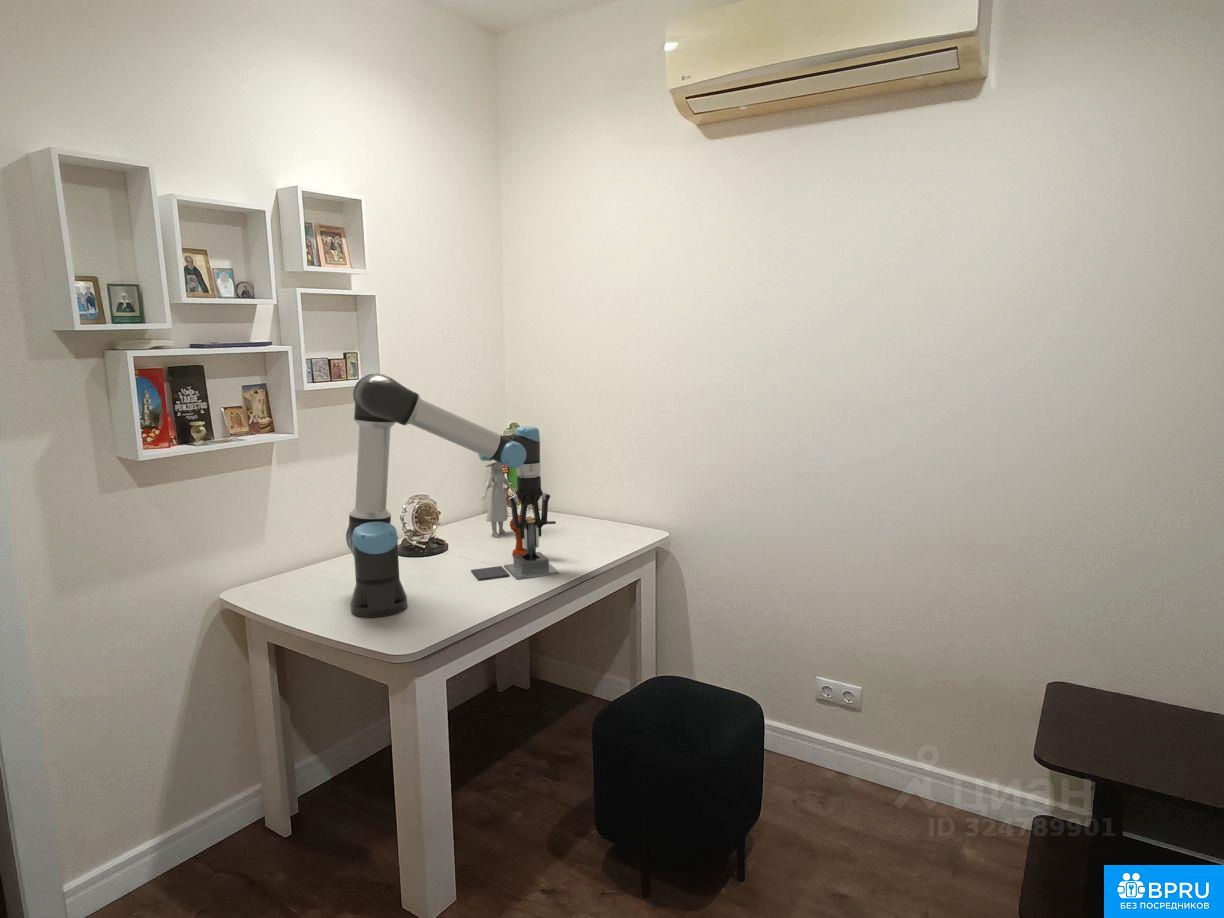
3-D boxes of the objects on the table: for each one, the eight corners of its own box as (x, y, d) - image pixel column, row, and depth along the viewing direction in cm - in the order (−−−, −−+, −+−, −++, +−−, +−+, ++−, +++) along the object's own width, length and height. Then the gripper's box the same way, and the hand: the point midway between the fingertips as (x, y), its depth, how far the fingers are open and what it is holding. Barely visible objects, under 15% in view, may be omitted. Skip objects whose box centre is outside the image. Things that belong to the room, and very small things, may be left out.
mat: (478, 580, 236) (478, 578, 236) (471, 571, 245) (471, 569, 245) (509, 576, 240) (509, 574, 240) (501, 567, 249) (501, 565, 249)
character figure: (490, 541, 280) (487, 461, 275) (475, 538, 285) (472, 459, 280) (522, 532, 293) (520, 455, 288) (507, 529, 298) (505, 453, 293)
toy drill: (556, 559, 253) (550, 515, 251) (510, 559, 261) (504, 516, 260) (563, 555, 257) (558, 512, 255) (518, 555, 266) (512, 513, 264)
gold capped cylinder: (527, 564, 243) (526, 520, 241) (523, 561, 246) (522, 518, 244) (538, 563, 245) (537, 519, 242) (535, 560, 248) (533, 517, 246)
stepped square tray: (516, 579, 237) (515, 565, 236) (504, 567, 250) (503, 554, 249) (558, 573, 242) (558, 560, 242) (544, 562, 255) (544, 549, 254)
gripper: (507, 479, 234) (509, 553, 238) (556, 475, 241) (558, 547, 244) (500, 475, 241) (503, 547, 245) (549, 471, 247) (550, 541, 251)
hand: (530, 547), depth 245 cm, fingers closed on gold capped cylinder, 3 cm apart
